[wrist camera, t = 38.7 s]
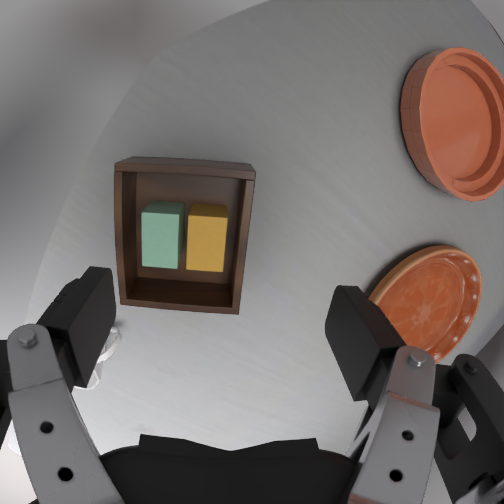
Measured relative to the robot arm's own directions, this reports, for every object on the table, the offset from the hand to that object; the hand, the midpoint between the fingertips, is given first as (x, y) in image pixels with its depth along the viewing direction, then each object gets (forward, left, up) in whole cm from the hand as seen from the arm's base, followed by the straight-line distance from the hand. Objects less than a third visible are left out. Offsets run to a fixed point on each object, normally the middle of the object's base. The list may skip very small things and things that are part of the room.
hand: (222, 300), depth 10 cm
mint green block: (+5, -6, -22) cm, 23 cm away
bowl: (-13, +28, -23) cm, 38 cm away
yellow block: (+5, -1, -22) cm, 23 cm away
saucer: (+15, +30, -23) cm, 41 cm away
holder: (+5, -4, -23) cm, 24 cm away
